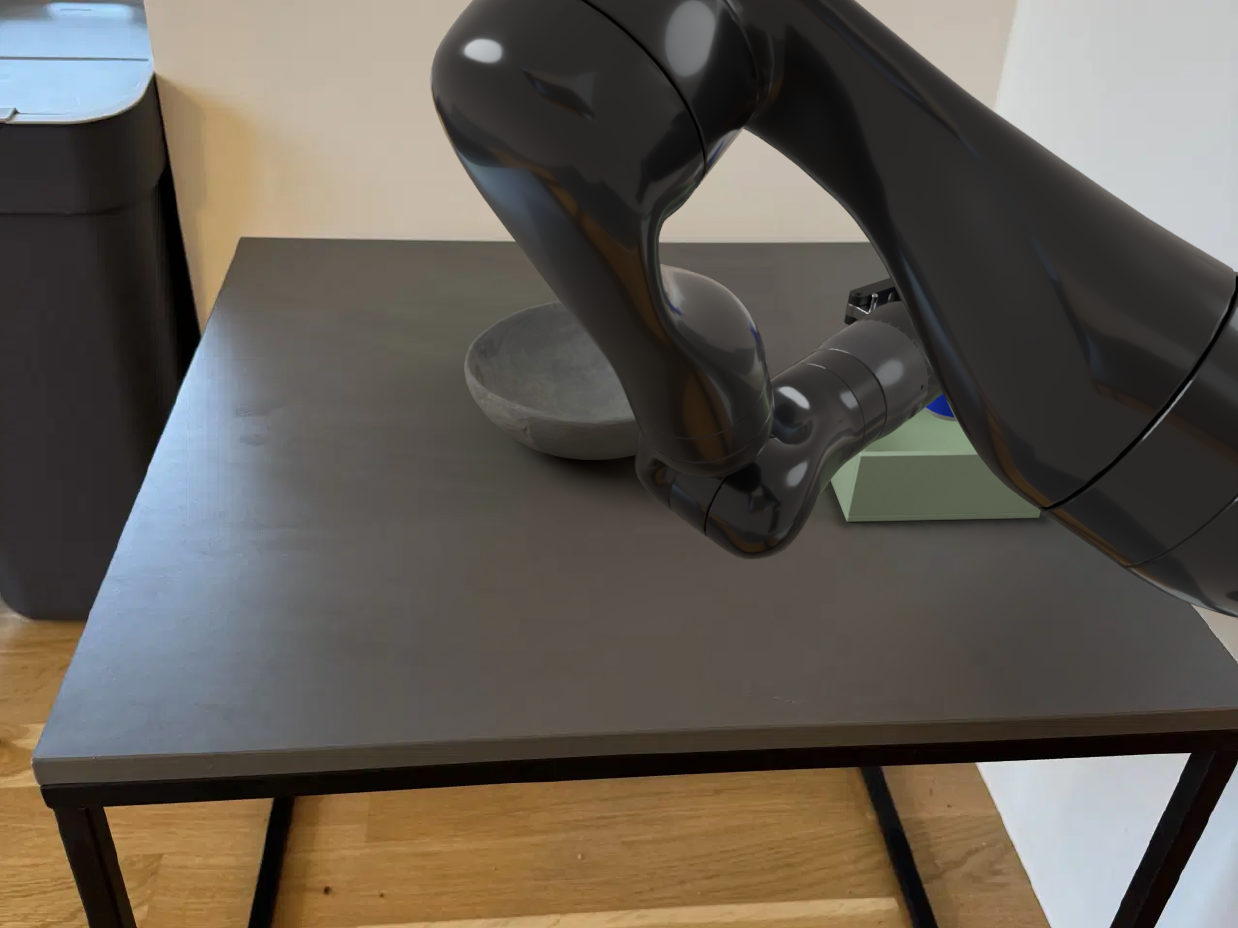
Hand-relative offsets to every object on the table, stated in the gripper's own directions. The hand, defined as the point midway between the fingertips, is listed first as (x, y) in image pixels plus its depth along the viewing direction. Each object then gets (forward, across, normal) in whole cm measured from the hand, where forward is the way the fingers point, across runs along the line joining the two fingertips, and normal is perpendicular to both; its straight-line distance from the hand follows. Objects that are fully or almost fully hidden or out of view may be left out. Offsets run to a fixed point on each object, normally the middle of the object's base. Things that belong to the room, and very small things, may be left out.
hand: (990, 295), depth 85 cm
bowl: (-16, +26, +18) cm, 36 cm away
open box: (+1, +3, +17) cm, 18 cm away
